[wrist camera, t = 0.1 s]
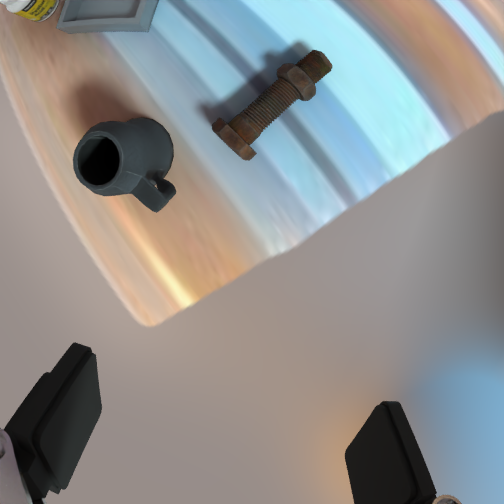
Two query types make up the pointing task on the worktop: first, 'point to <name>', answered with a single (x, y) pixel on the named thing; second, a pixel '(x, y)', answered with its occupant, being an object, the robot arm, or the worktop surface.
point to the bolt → (273, 102)
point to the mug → (127, 161)
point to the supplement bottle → (32, 8)
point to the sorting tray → (106, 15)
